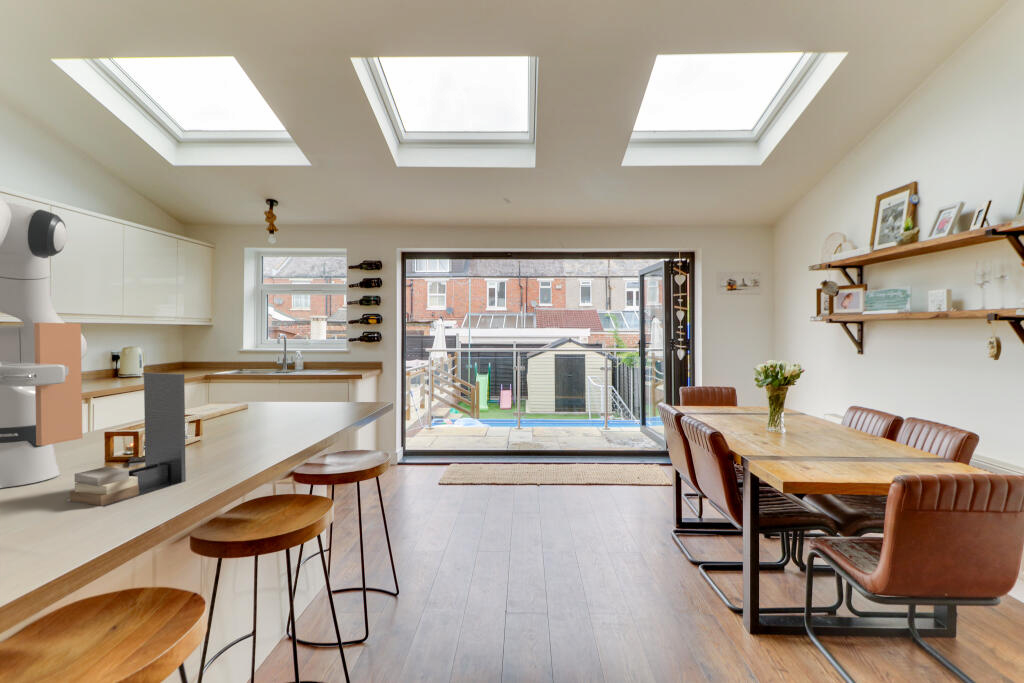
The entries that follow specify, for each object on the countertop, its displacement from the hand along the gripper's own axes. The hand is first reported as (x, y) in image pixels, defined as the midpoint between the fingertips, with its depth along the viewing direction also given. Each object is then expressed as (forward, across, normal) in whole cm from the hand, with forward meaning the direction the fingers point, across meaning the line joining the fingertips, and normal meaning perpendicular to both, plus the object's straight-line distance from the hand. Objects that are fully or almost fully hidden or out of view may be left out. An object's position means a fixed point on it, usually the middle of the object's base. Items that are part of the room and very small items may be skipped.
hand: (61, 370), depth 99 cm
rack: (+13, 0, +30) cm, 33 cm away
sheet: (0, 0, +14) cm, 14 cm away
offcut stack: (+8, 0, +28) cm, 29 cm away
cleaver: (+34, +23, +30) cm, 51 cm away
